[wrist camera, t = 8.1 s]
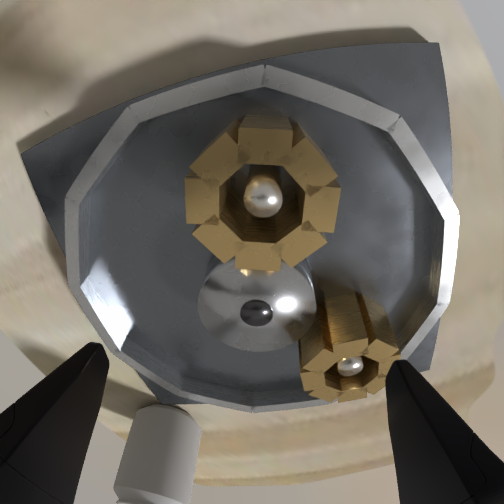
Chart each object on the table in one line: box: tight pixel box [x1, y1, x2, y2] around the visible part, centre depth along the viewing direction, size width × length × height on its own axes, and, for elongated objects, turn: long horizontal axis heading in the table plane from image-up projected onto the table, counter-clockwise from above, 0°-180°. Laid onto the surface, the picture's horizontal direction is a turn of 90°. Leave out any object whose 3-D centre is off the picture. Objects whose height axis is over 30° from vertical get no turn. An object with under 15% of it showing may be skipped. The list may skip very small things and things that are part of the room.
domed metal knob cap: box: [198, 256, 316, 352], centre depth 19 cm, size 7×7×3 cm
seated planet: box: [298, 293, 401, 403], centre depth 20 cm, size 6×6×4 cm
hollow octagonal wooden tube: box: [184, 115, 341, 271], centre depth 15 cm, size 6×6×4 cm
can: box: [114, 404, 202, 504], centre depth 26 cm, size 8×8×12 cm
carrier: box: [21, 42, 460, 413], centre depth 19 cm, size 25×25×4 cm
